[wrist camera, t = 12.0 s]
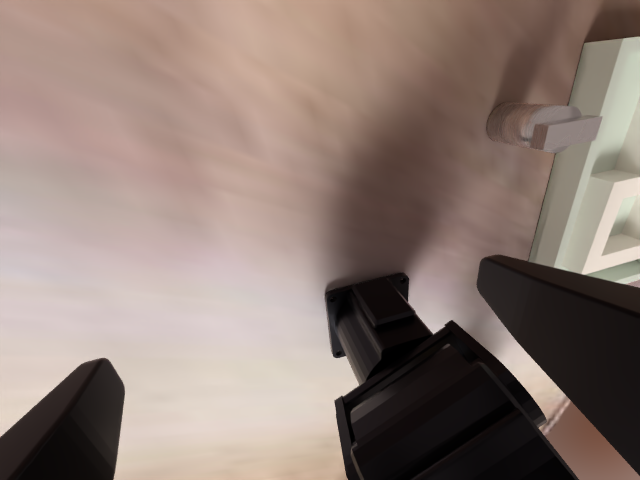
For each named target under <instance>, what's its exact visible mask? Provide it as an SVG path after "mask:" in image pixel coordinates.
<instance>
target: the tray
mask: <svg viewBox="0 0 640 480" xmlns="http://www.w3.org/2000/svg"><path fill="white" fill-rule="evenodd" d="M639 97H640V36H639V37H631V38H622V39H614V40H605V41H597V42H588V43H584V46H583V50H582V53H581V57H580V61H579V65H578V69H577V73H576V77H575V81H574V85H573V89H572V93H571V96H570V100H569V104H568V106H574V107H577V108H578V109H579V110H580V112H581V114H582V116H584V115H594V116H603V118H602V121H601V124H600V128H599V131H598V134H597V137H596V140H594V141H589V142H584V143H579V144H574V145H570V146H569V147H568V148H567V149H565V150H564V151H562V152H559V153H556V155H555V159H554V163H553V167H552V171H551V175H550V179H549V182H548V186H547V190H546V194H545V198H544V202H543V206H542V210H541V214H540V218H539V222H538V225H537V229H536V233H535V237H534V241H533V245H532V249H531V253H530V257H529V261H528V262H533V263H537V264H541V265H545V266H550V267H554V268H558V269H562V270H566V271H571V270H569V269H567V268H565V267H563V266H561V265H562V262H563V259H564V256H565V253H566V250H567V247H568V243H569V240H570V237H571V234H572V231H573V228H574V225H575V222H576V218H577V215H578V212H579V209H580V206H581V203H582V200H583V196H584V193H585V190H586V187H587V184H588V181H589V178H590V175H591V174H595V173H600V172H604V171H609V170H613V169H614V168H615V165H616V162H617V159H618V157H619V154H620V151H621V148H622V145H623V142H624V140H625V137H626V134H627V131H628V128H629V125H630V123H631V120H632V117H633V114H634V111H635V109H636V106H637V103H638V100H639ZM636 196H637V195H636ZM636 196H632V197H628V198H624V199H623V201H622V203H621V206H620V208H619V211H618V214H617V216H616V219H615V221H614V224H613V227H612V229H611V232H610V234H609V237H610V236H613V235H617V234H621V233H622V230H623V228H624V226H625V223H626V221H627V218H628V216H629V213H630V211H631V208H632V206H633V203H634V201H635V198H636ZM571 272H573V271H571ZM585 275H588V276H592V277H596V278H600V279H604V280H609V281H613V282H617V283H621V284H627V283H630V282H634V281H637V280H640V259H636V260H633V261H630V262H626V263H623V264H619V265H616V266H613V267H609V268H606V269H602V270H599V271H596V272H592V273H589V274H585Z"/></svg>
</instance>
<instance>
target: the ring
mask: <svg viewBox="0 0 640 480" xmlns="http://www.w3.org/2000/svg"><path fill="white" fill-rule="evenodd" d="M636 195H637V196H636ZM632 196H636V198H635V201H634V203H633V206H632V208H631V211H630V213H629V216H628V218H627V221H626V223H625V226H624V228H623V230H622V233H621V234H617V235H613V236H610V237H609V234H610V232H611V229H612V227H613V224H614V221H615V219H616V216H617V214H618V211H619V208H620V206H621V203H622V201H623V199H624V198H628V197H632ZM636 259H640V97H639V100H638V103H637V106H636V109H635V111H634V114H633V117H632V120H631V123H630V125H629V128H628V131H627V134H626V137H625V140H624V142H623V145H622V148H621V151H620V154H619V157H618V159H617V162H616V165H615V168H614V169H613V170H609V171H604V172H600V173H595V174H591V175H590V178H589V181H588V184H587V187H586V190H585V193H584V196H583V200H582V203H581V206H580V209H579V212H578V215H577V218H576V222H575V225H574V228H573V231H572V234H571V237H570V240H569V243H568V247H567V250H566V253H565V256H564V259H563V262H562V265H561V266H563V267H565V268H567V269H569V270H571V271H573V272H575V273H579V274H583V275H585V274H589V273H592V272H596V271H599V270H602V269H606V268H609V267H613V266H616V265H619V264H623V263H626V262H630V261H633V260H636Z"/></svg>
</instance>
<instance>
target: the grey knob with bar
mask: <svg viewBox="0 0 640 480" xmlns="http://www.w3.org/2000/svg"><path fill="white" fill-rule="evenodd" d="M602 118H603V116H594V115H584V116H582V114H581V112H580V110H579V109H578V108H577V107H574V106H561V105H544V104H528V103H512V102H505V103H502V104H500V105H499V106H497V107H496V108H495V109H494V110H493V112H492V113H491V115H490V117H489V119H488V122H487V134H488V136H489V138H490V139H491V140H493V141H497V142H502V143H507V144H511V145H516V146H521V147H526V148H531V149H535V150H540V151H545V152H550V153H559V152H562V151H564V150H565V149H567V148H568V147H569V146H570V145H574V144H579V143H584V142H589V141H594V140H596V137H597V134H598V131H599V128H600V124H601V121H602Z"/></svg>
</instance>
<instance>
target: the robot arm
mask: <svg viewBox="0 0 640 480" xmlns="http://www.w3.org/2000/svg"><path fill="white" fill-rule="evenodd" d="M402 278H403V279H402ZM401 279H402V280H401ZM400 280H401V281H400ZM477 288H478V291H479V293H480V294H481V295H482V297H483V298H484V299H485V301H486V302H487V303H488V305H489V306H490V307H491V308H492V310H493V311H494V312H495V314H496V315H497V316H498V318H499V319H500V320H501V322H502V323H503V324H504V326H505V327H506V328H507V330H508V331H509V332H510V333H511V335H512V336H513V337H514V338H515V340H516V341H517V342H518V343H519V344H520V345H521V347H522V348H523V349H524V350H525V351H526V352H527V353H528V354H529V355H530V356H531V358H532V359H533V360H534V361H535V362H536V363H537V364H538V365H539V366H540V367H541V368H542V370H543V371H544V372H545V373H546V374H547V375H548V376H549V377H550V378H551V379H552V380H553V382H554V383H555V384H556V385H557V386H558V387H559V388H560V389H561V390H562V391H563V393H564V394H565V395H566V396H567V397H568V398H569V399H570V400H571V401H572V402H573V403H574V405H575V406H576V407H577V408H578V409H579V410H580V411H581V412H582V413H583V414H584V415H585V417H586V418H587V419H588V420H589V421H590V422H591V423H592V424H593V425H594V426H595V427H596V429H597V430H598V431H599V432H600V433H601V434H602V435H603V436H604V437H605V438H606V439H607V441H608V442H609V443H610V444H611V445H612V446H613V447H614V448H615V449H616V450H617V452H619V454H620V455H621V456H622V457H623V458H624V459H625V460H626V461H627V462H628V464H629V465H630V466H631V467H632V468H633V469H634V470H635V471H636V472H637V473H638V475H639V476H640V288H638V287H634V286H630V285H626V284H621V283H617V282H613V281H609V280H604V279H600V278H596V277H592V276H588V275H583V274H579V273H575V272H571V271H566V270H562V269H558V268H554V267H550V266H545V265H541V264H537V263H533V262H528V261H524V260H520V259H516V258H511V257H507V256H503V255H492V256H488V257H485V258H483V259H482V260H481V262H480V266H479V272H478V278H477ZM408 289H409V278H408V276H407V275H406V274H405V273H398V274H394V275H390V276H386V277H382V278H378V279H374V280H370V281H367V282H363V283H359V284H355V285H351V286H347V287H343V288H339V289H336V290H332V291H329V292H328V293H326V295H325V302H326V311H327V319H328V327H329V335H330V344H331V352H332V354H333V356H334V357H335V358H340V357H343V356H347V358H348V361H349V363H350V365H351V367H352V370H353V372H354V374H355V376H356V379H357V381H358V383H359V386H358V387H357V388H355V389H354V390H352V391H351V392H349V393H348V394H346V395H345V396H341V397H339V398H338V399H336V400H335V407H336V413H337V414H336V418H337V424H338V430H339V436H340V442H341V447H342V453H343V459H344V465H345V471H346V475H347V478H348V480H579V479H578V478H577V477H576V475H575V474H574V473H573V471H572V470H571V469H570V468H569V466H568V465H567V464H566V463H565V461H564V460H563V459H562V458H561V456H560V455H559V454H558V452H557V451H556V450H555V449H554V447H553V446H552V445H551V444H550V442H549V441H548V440H547V439H546V437H545V436H544V435H543V433H542V432H541V431H540V430H539V427H540V426H542V425H543V424H545V423H546V422H547V420H546V417H545V415H544V414H543V412H542V411H541V409H540V407H539V406H538V405H537V403H536V402H535V401H534V399H533V398H532V397H531V395H530V394H529V393H528V392H527V390H526V389H525V388H524V387H523V386H522V385H521V383H520V382H519V381H518V380H517V379H516V378H515V377H514V375H513V374H512V373H511V372H510V371H509V370H508V369H507V368H506V367H505V366H504V365H503V364H502V363H501V362H500V361H499V360H498V359H497V358H496V357H495V356H493V355H492V354H491V353H490V352H489V351H488V350H486V349H485V348H484V347H483V346H482V345H481V344H479V343H478V342H477V341H476V340H475V339H474V338H472V337H471V336H470V335H469V334H468V333H467V332H465V331H464V330H463V329H462V328H461V327H460V326H459V325H457V324H456V323H455V322H454V321H453V320H451V321H449V322H448V323H447V324H445V327H444V328H442V329H441V330H439V331H438V332H436V333H435V334H433V333H432V332H431V331H430V330H429V329H428V328H427V326H426V325H425V324H424V323H423V322H422V320H421V319H420V318H419V317H418V316H417V314H416V313H415V310H414V309H413V308H412V307H411V306H410V304H409V303H408ZM331 297H334V298H333V299H330V298H331ZM124 397H125V388H124V384H123V382H122V380H121V378H120V377H119V375H118V374H117V372H116V370H115V369H114V367H113V365H112V364H111V362H110V361H109V360H108V359H106V358H100V359H96V360H92V361H88V362H85V363H83V364H81V365H80V366H79V367H77V368H76V369H75V370H74V371H73V372H72V373H71V374H70V375H69V376H68V377H66V378H65V379H64V380H63V381H62V382H61V383H60V384H59V385H58V386H56V387H55V388H54V389H53V390H52V391H51V392H50V393H49V394H48V395H47V396H45V397H44V398H43V399H42V400H41V401H40V402H39V403H38V404H37V405H35V406H34V407H33V408H32V409H31V410H30V411H29V412H28V413H27V414H26V415H24V416H23V417H22V418H21V419H20V420H19V421H18V422H17V423H16V424H14V425H13V426H12V427H11V428H10V429H9V430H8V431H7V432H6V433H5V434H3V435H2V436H1V437H0V480H113V479H114V474H115V468H116V462H117V454H118V446H119V438H120V430H121V422H122V413H123V405H124Z"/></svg>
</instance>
